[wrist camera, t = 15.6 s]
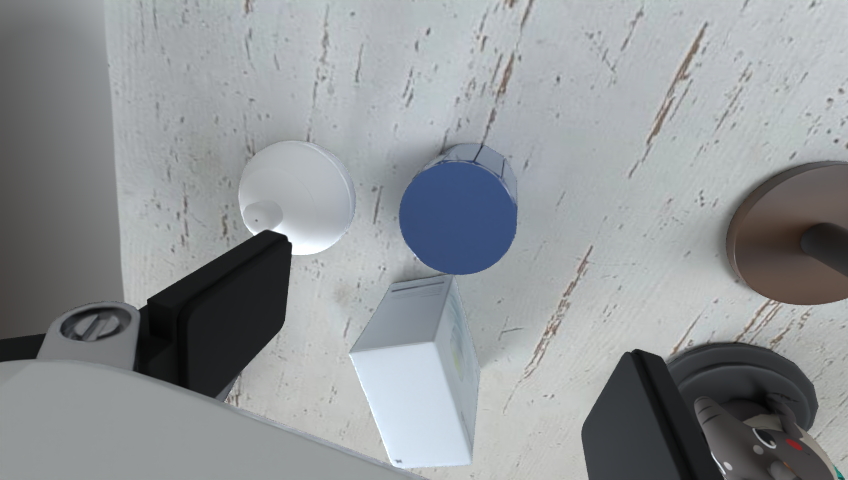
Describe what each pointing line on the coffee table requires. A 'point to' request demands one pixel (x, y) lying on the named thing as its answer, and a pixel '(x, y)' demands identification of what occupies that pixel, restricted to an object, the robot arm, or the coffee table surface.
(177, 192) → the coffee table surface
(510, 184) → the cup
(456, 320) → the cosmetics box
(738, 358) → the figurine
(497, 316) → the coffee table surface
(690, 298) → the coffee table surface
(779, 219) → the towel holder
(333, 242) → the spinning top
